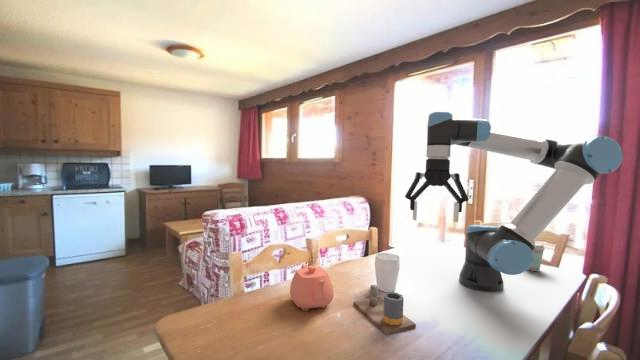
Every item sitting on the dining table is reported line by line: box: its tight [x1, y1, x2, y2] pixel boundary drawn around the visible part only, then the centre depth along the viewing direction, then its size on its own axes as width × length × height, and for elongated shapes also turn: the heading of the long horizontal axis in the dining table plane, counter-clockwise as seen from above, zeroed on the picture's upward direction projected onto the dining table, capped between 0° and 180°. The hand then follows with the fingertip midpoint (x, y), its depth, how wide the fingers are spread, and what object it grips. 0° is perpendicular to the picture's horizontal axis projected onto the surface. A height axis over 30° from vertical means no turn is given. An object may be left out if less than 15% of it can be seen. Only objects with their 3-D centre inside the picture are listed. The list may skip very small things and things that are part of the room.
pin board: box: [352, 284, 417, 335], centre depth 90 cm, size 18×10×7 cm, turn 23°
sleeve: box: [383, 291, 404, 325], centre depth 85 cm, size 5×5×7 cm
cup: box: [374, 252, 401, 293], centre depth 109 cm, size 9×9×12 cm
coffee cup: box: [526, 241, 545, 272], centre depth 133 cm, size 8×8×12 cm
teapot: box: [289, 264, 334, 312], centre depth 95 cm, size 13×20×12 cm, turn 21°
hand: (434, 220), depth 102 cm, fingers open, 13 cm apart
